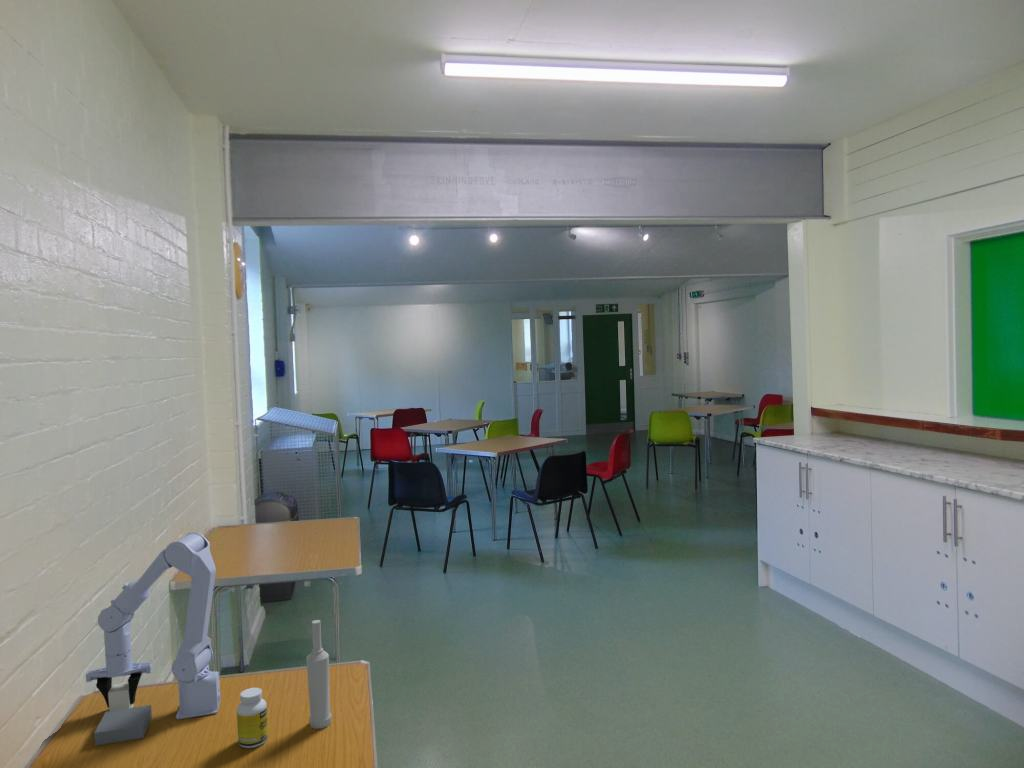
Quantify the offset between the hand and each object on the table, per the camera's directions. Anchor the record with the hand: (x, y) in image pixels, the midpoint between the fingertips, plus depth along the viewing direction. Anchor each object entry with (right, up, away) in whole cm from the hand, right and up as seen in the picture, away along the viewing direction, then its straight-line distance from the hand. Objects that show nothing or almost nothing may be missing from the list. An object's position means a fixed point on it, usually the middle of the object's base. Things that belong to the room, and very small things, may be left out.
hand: (121, 704), depth 180 cm
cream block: (0, -2, 0) cm, 2 cm away
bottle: (+53, -1, -9) cm, 53 cm away
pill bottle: (+39, -2, -16) cm, 42 cm away
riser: (+6, -2, -10) cm, 12 cm away
